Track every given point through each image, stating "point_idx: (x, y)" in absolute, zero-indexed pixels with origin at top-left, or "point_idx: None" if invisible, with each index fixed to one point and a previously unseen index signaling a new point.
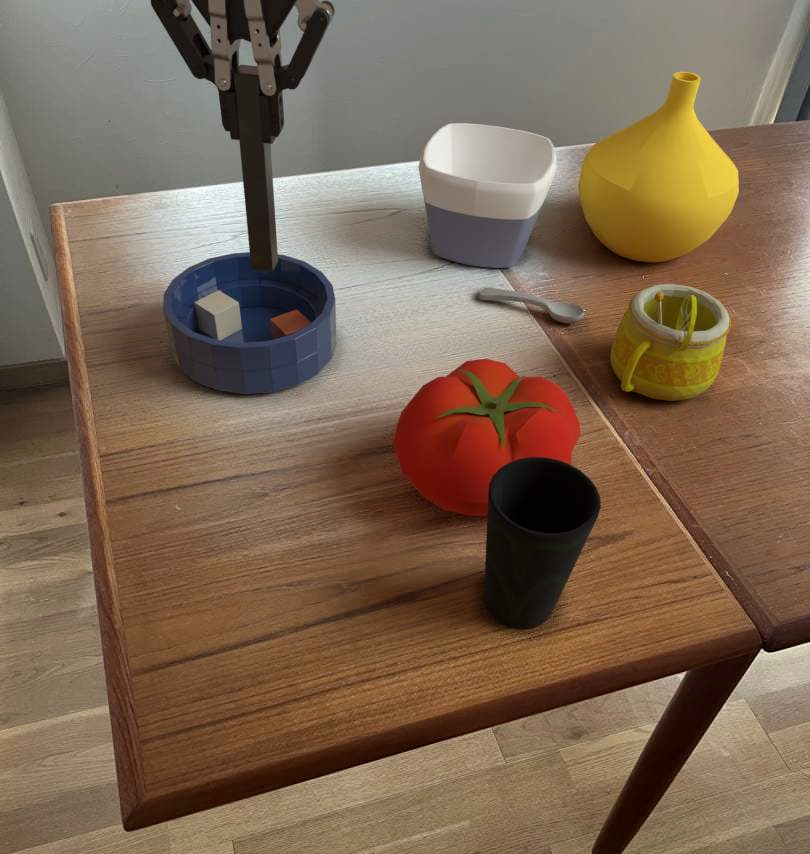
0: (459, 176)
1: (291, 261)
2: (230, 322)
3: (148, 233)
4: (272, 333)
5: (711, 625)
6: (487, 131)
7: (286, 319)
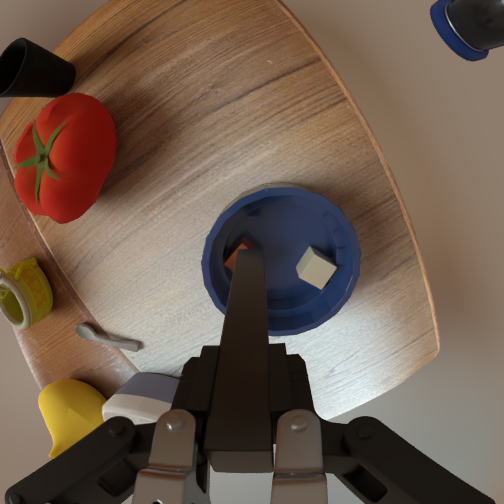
0: None
1: None
2: (303, 262)
3: (390, 354)
4: None
5: (5, 114)
6: None
7: None
